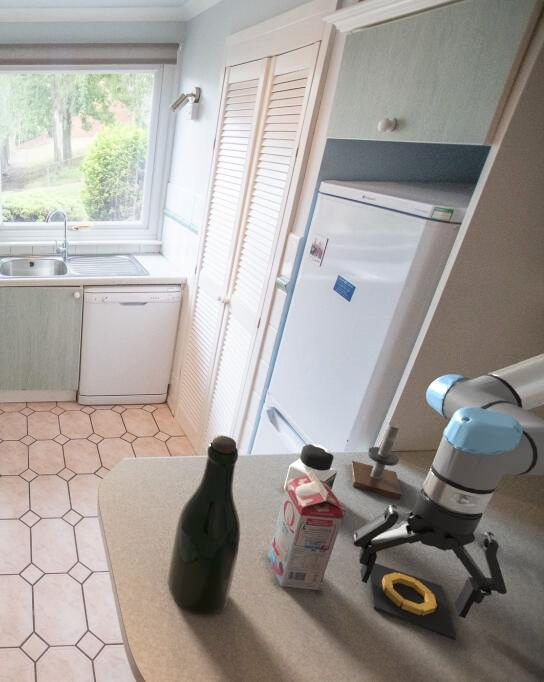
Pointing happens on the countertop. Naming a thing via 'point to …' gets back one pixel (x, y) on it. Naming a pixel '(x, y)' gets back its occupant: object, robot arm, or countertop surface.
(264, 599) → the countertop surface
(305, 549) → the juice carton
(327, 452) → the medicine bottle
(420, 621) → the rubber mat
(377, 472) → the peg stand
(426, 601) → the brass ring
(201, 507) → the green wine bottle
